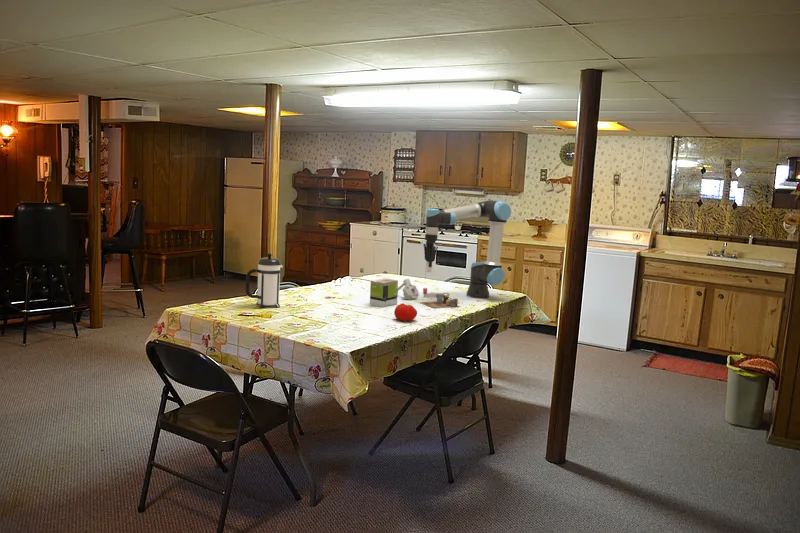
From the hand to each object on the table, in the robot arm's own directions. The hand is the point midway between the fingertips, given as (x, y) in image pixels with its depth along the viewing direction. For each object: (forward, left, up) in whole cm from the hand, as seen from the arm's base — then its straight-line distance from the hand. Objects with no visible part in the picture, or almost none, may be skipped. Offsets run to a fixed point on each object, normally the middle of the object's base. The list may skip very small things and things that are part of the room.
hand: (428, 272), depth 387 cm
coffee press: (+98, -14, -20) cm, 101 cm away
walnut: (-6, +15, -18) cm, 24 cm away
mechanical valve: (+6, -19, -20) cm, 28 cm away
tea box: (+29, -3, -20) cm, 35 cm away
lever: (-2, +7, -17) cm, 19 cm away
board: (-2, +11, -19) cm, 22 cm away
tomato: (+37, +37, -20) cm, 56 cm away
